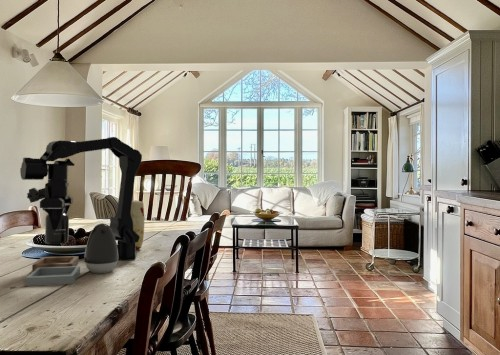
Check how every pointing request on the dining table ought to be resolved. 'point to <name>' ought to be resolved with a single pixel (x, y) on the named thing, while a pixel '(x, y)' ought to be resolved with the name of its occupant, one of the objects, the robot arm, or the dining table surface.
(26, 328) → the dining table surface
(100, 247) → the grey egg shaped device
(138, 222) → the food model
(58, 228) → the supplement bottle
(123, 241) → the robot arm
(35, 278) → the slate tray
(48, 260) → the walnut collar
